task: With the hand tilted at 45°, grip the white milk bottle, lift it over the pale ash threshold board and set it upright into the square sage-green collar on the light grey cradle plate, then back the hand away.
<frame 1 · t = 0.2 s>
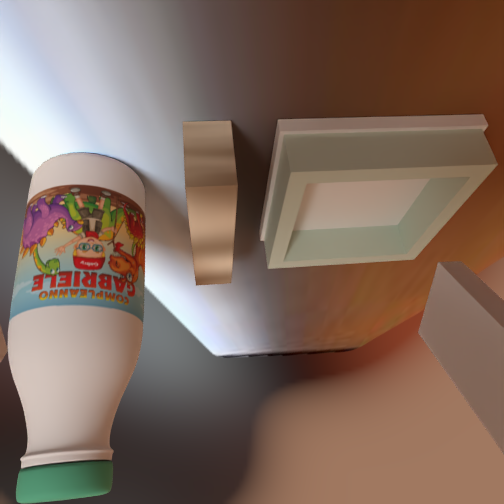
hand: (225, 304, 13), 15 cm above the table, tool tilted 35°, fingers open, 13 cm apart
milk bottle: (91, 182, 32), on the table
threshold board: (208, 187, 33), on the table
cradle: (353, 181, 35), on the table
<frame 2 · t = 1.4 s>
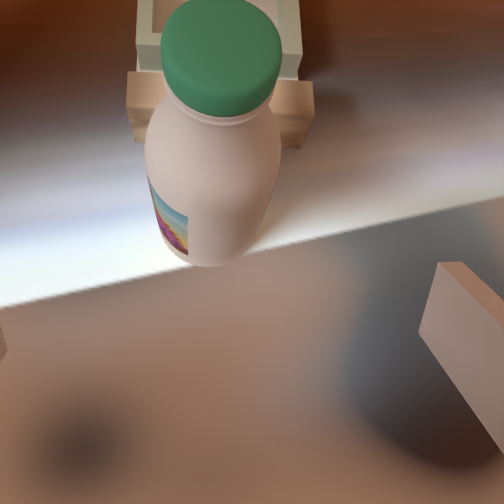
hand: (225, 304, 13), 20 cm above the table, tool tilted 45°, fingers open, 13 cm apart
milk bottle: (208, 223, 35), on the table
threshold board: (219, 129, 37), on the table
cradle: (217, 20, 40), on the table
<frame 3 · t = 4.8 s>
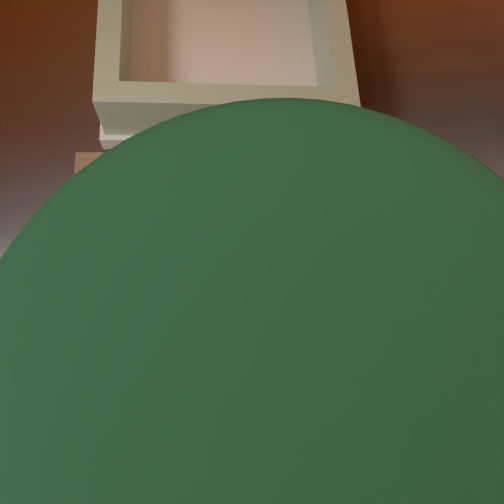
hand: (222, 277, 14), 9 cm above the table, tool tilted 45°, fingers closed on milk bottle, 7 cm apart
milk bottle: (216, 384, 22), on the table, touching gripper
threshold board: (230, 223, 24), on the table
cradle: (223, 51, 27), on the table
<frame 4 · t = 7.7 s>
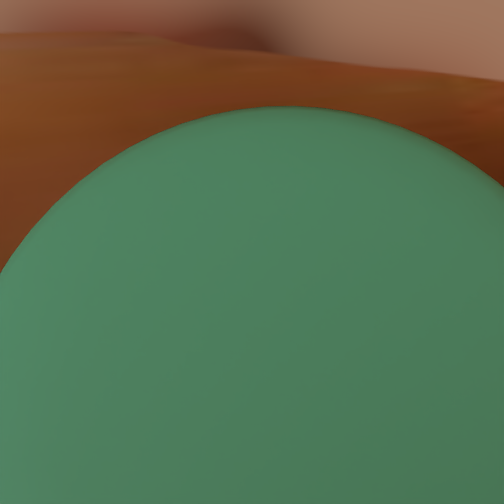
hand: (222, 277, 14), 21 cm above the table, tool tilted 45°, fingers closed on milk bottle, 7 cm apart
milk bottle: (216, 385, 22), point 12 cm above the table, touching gripper
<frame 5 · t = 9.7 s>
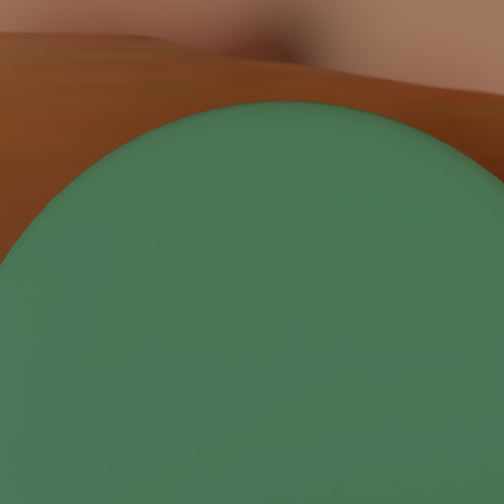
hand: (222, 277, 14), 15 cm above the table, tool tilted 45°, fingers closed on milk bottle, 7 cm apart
milk bottle: (216, 384, 22), point 6 cm above the table, touching gripper
when the fingers open (11 cm above the table, at t = 11.0 s): milk bottle drops 1 cm, resting on cradle.
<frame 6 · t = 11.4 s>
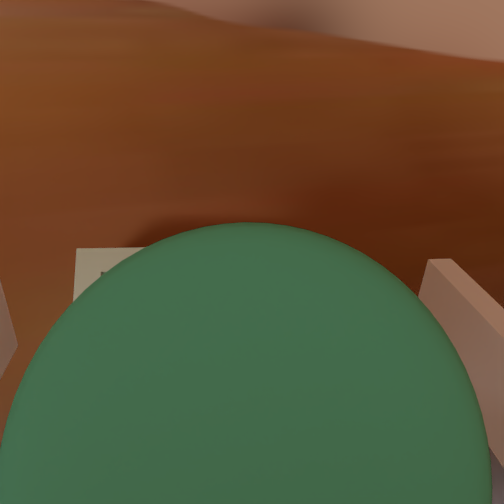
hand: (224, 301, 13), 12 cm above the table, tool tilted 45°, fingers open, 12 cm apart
milk bottle: (214, 386, 23), point 1 cm above the table, touching cradle
cradle: (215, 383, 24), on the table
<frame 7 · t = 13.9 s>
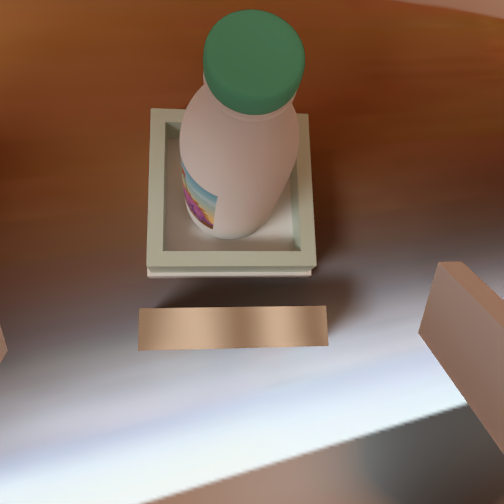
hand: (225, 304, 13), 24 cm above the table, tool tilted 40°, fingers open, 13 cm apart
milk bottle: (228, 200, 39), point 1 cm above the table, touching cradle
threshold board: (231, 329, 37), on the table
cradle: (229, 201, 39), on the table
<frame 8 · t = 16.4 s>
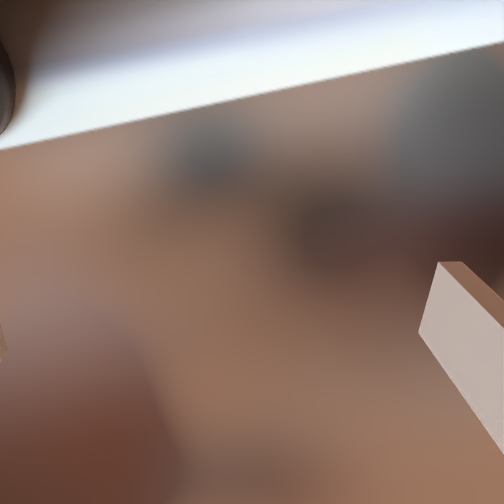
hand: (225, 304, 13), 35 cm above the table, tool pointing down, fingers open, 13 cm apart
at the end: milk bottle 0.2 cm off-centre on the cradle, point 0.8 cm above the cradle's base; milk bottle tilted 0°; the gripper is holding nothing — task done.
